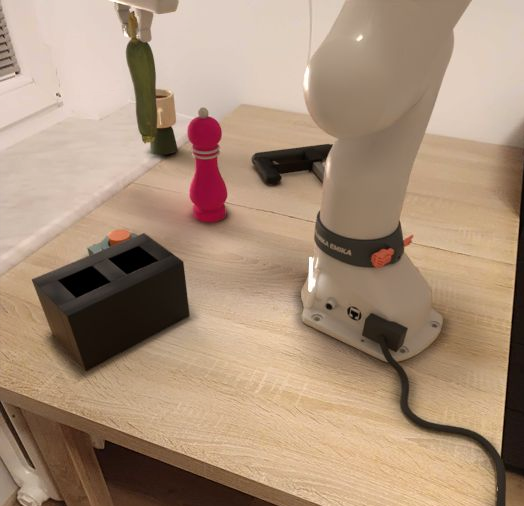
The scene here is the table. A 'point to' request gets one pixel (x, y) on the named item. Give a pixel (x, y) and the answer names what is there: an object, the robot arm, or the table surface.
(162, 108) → the character mug
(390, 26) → the robot arm
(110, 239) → the button
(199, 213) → the pepper mill
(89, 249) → the panel
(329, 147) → the door handle
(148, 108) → the vegetable
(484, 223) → the table surface
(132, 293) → the toaster
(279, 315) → the table surface
